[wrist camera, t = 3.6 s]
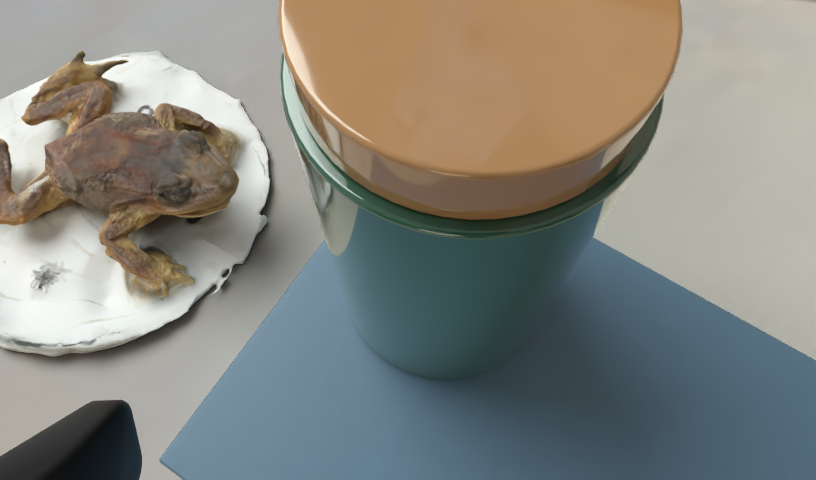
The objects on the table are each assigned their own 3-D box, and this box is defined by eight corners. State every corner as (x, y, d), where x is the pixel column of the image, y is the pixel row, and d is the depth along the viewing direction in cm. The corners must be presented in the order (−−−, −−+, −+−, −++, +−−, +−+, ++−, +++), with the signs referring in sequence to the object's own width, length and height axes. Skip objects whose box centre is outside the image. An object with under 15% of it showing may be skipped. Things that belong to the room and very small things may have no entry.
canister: (580, 252, 18) (769, -53, 8) (479, 423, 16) (574, 284, 7) (413, 158, 19) (413, -203, 10) (303, 308, 17) (167, 51, 8)
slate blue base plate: (787, 410, 20) (867, 387, 16) (629, 789, 16) (688, 861, 13) (406, 191, 23) (404, 132, 20) (202, 470, 19) (157, 460, 16)
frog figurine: (314, 79, 25) (297, 7, 21) (212, 395, 20) (169, 369, 17) (32, 31, 26) (-28, -46, 22) (-126, 321, 21) (-232, 281, 18)
